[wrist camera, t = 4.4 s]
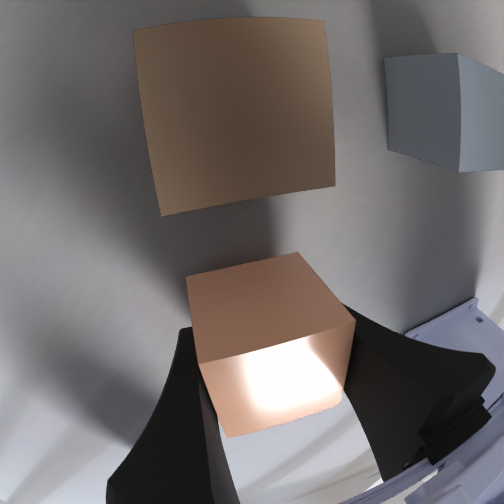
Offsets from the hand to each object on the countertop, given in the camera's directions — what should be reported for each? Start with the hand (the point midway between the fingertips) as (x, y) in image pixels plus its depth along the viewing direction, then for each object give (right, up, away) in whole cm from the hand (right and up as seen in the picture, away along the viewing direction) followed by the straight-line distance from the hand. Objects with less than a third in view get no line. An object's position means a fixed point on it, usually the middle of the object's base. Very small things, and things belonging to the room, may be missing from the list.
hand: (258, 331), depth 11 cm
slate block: (+8, +10, 0) cm, 13 cm away
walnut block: (-2, +8, -1) cm, 8 cm away
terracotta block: (0, +1, +1) cm, 1 cm away
